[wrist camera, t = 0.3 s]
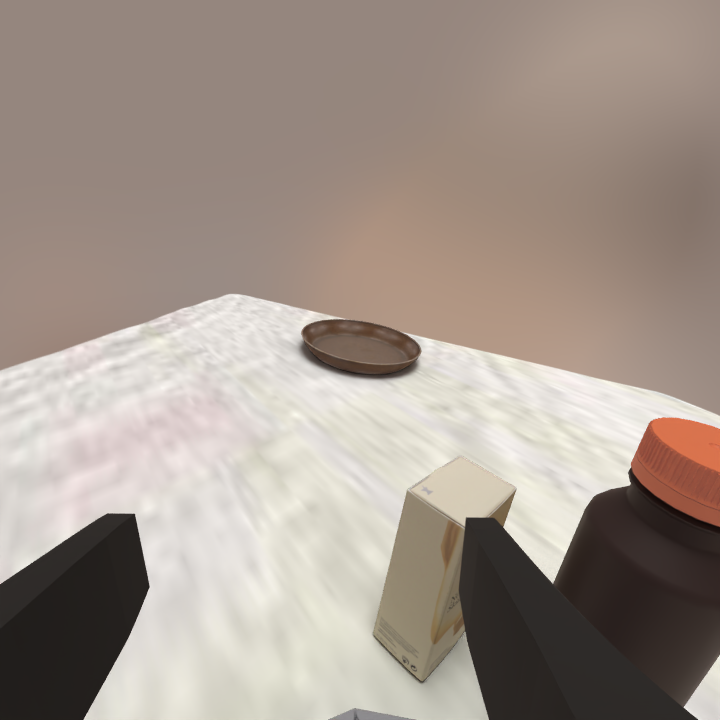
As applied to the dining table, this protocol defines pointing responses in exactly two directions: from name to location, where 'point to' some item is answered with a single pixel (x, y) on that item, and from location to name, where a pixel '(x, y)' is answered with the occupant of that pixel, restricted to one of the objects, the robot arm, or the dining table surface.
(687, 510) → the bottle
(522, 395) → the dining table surface
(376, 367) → the plant saucer
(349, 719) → the bowl
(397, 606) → the skincare box
